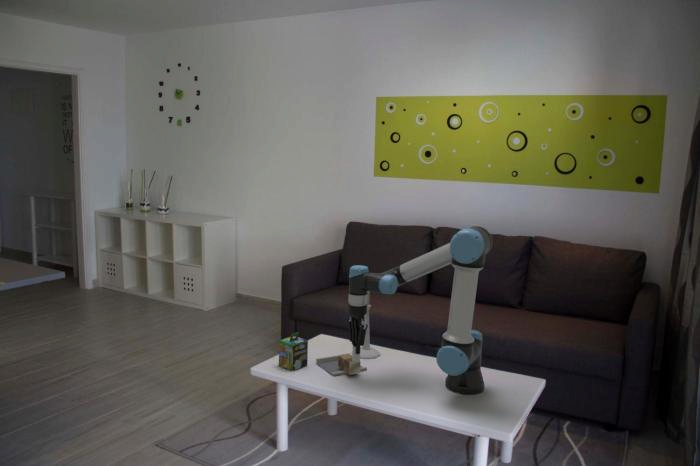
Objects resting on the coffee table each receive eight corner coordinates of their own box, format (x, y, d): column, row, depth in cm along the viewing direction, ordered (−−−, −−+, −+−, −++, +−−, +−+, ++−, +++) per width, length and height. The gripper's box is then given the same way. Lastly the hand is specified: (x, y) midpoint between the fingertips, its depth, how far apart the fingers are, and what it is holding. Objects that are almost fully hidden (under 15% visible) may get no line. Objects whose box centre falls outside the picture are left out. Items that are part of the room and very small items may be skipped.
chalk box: (293, 360, 252) (293, 328, 251) (308, 365, 247) (308, 332, 245) (277, 366, 245) (278, 332, 244) (292, 371, 240) (293, 337, 238)
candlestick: (356, 348, 271) (357, 286, 267) (382, 351, 268) (384, 288, 264) (348, 357, 259) (350, 291, 255) (376, 360, 255) (378, 294, 252)
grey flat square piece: (366, 370, 243) (366, 364, 243) (333, 376, 235) (333, 370, 235) (348, 358, 257) (348, 353, 256) (316, 363, 249) (316, 358, 249)
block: (360, 361, 236) (348, 353, 245) (349, 363, 234) (338, 355, 242) (360, 372, 237) (348, 364, 245) (349, 374, 234) (338, 366, 243)
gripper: (374, 306, 227) (372, 364, 230) (357, 299, 238) (356, 354, 241) (357, 308, 224) (355, 367, 226) (341, 301, 235) (340, 357, 238)
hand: (356, 360), depth 234 cm, fingers closed
